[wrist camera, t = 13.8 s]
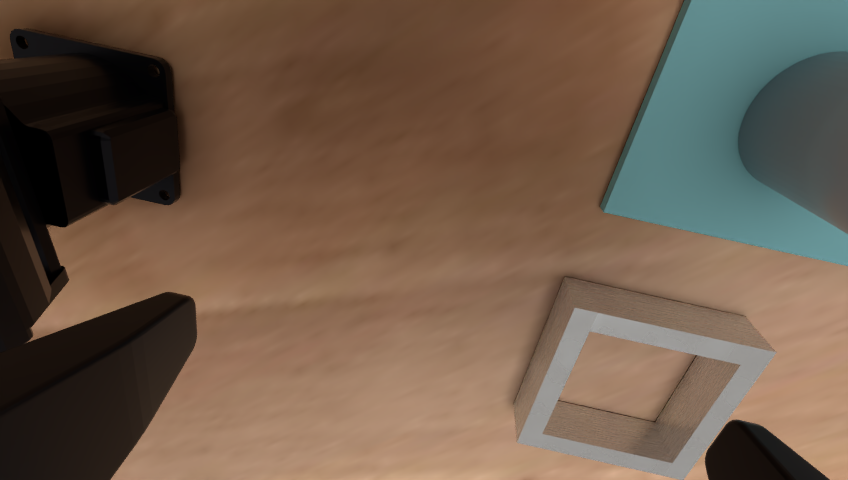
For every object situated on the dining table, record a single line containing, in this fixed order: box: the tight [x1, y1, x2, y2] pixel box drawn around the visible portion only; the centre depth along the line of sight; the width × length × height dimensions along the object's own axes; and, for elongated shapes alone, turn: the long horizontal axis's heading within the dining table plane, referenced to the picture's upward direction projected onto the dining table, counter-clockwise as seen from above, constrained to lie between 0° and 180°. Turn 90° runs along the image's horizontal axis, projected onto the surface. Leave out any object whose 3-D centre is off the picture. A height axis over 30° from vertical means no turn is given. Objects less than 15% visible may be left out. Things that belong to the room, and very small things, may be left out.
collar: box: [514, 277, 777, 480], centre depth 22 cm, size 9×9×2 cm
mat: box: [600, 0, 848, 266], centre depth 17 cm, size 12×10×1 cm
